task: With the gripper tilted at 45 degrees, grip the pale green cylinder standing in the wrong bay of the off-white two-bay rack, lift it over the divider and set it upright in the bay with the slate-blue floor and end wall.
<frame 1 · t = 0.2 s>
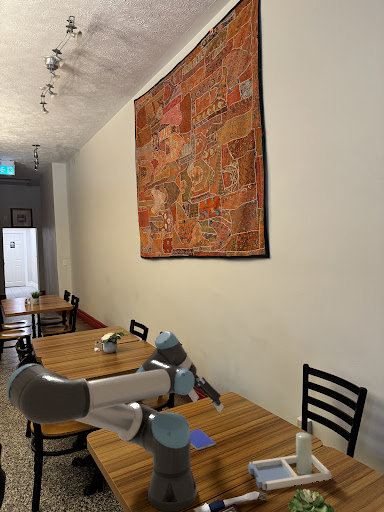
hand: (208, 404, 141), 15 cm above the table, tool tilted 35°, fingers open, 13 cm apart
pale green cylinder: (304, 471, 123), resting in bay rack
skincare box: (140, 432, 152), on the table
blue book: (198, 442, 144), on the table
bay rack: (289, 473, 122), on the table
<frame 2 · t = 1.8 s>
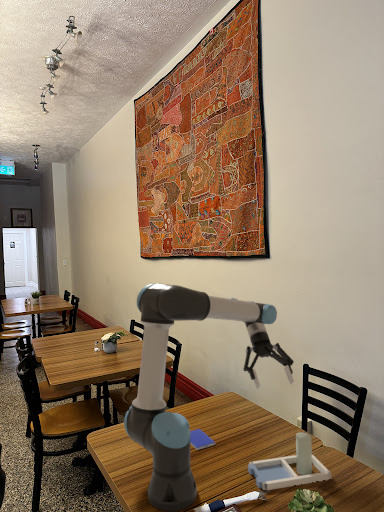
hand: (275, 385, 136), 24 cm above the table, tool tilted 45°, fingers open, 13 cm apart
nothing on the table moved.
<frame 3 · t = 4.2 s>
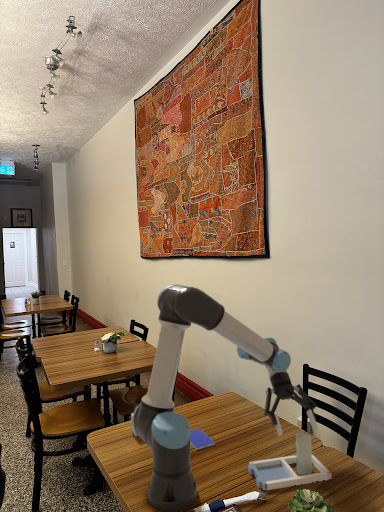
hand: (298, 431, 128), 11 cm above the table, tool tilted 45°, fingers open, 13 cm apart
nothing on the table moved.
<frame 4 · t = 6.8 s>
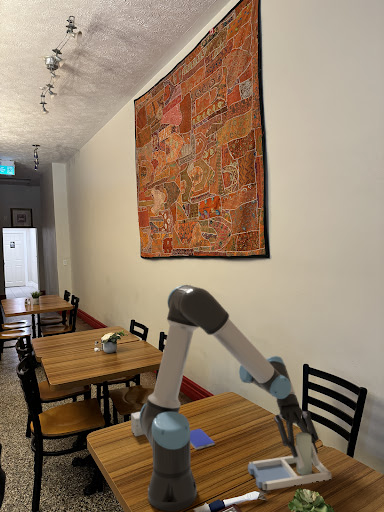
hand: (309, 466, 119), 4 cm above the table, tool tilted 45°, fingers closed on pale green cylinder, 5 cm apart
pale green cylinder: (304, 471, 123), resting in bay rack, touching gripper
everything else where it was.
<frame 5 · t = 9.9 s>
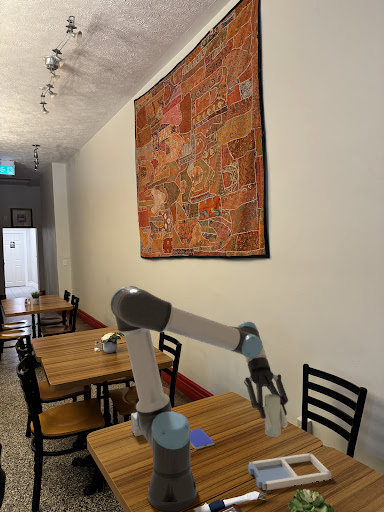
hand: (277, 427, 117), 18 cm above the table, tool tilted 45°, fingers closed on pale green cylinder, 5 cm apart
pale green cylinder: (272, 433, 120), point 14 cm above the table, touching gripper
everything else where it was.
when the fingers open (5 cm above the table, at t = 13.2 s): pale green cylinder stays where it is, resting on bay rack.
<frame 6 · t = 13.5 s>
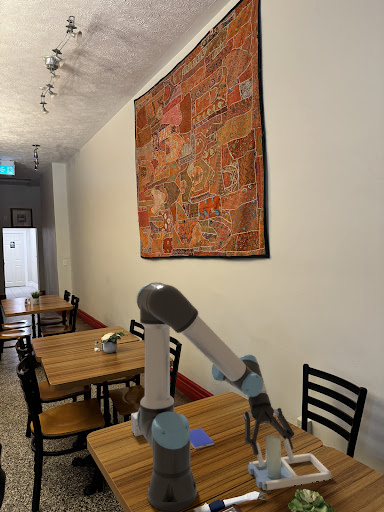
hand: (277, 463, 117), 6 cm above the table, tool tilted 45°, fingers open, 10 cm apart
pale green cylinder: (273, 474, 121), resting on bay rack
everything else where it was.
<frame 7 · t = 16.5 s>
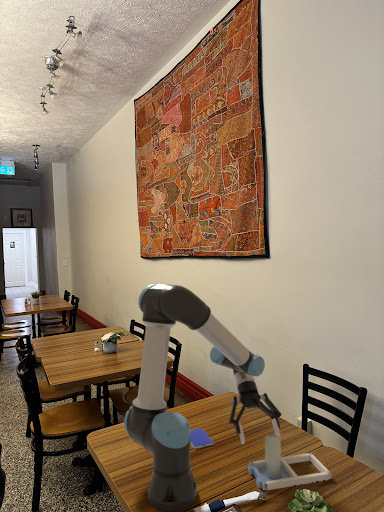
hand: (261, 440, 130), 7 cm above the table, tool tilted 45°, fingers open, 13 cm apart
nothing on the table moved.
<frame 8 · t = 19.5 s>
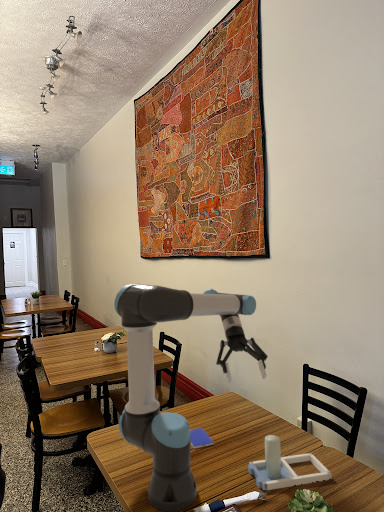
hand: (247, 379, 134), 28 cm above the table, tool tilted 45°, fingers open, 13 cm apart
at the end: pale green cylinder 0.0 cm from the target spot on the bay rack, point 0.5 cm above the bay rack's base; pale green cylinder tilted 1°; the gripper is holding nothing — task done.
